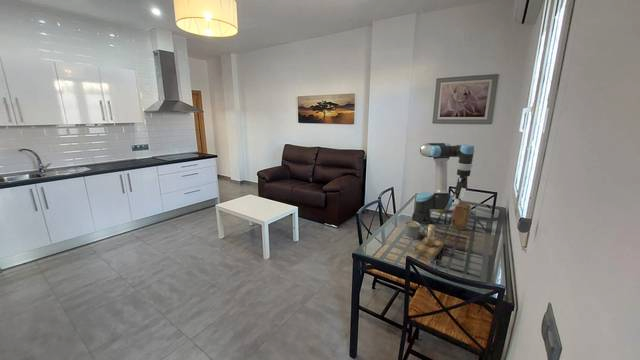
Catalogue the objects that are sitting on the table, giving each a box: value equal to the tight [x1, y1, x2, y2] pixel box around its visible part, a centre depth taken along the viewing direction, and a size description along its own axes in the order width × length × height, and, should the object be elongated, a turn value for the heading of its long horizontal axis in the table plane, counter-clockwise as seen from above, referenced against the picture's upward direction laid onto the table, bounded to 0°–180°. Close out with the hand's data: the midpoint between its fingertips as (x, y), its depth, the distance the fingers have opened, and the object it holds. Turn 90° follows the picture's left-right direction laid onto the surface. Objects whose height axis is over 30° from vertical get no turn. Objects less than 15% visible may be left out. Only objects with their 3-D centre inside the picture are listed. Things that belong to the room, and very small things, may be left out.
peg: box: [426, 224, 436, 248], centre depth 167 cm, size 4×4×18 cm
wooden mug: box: [435, 194, 455, 214], centre depth 224 cm, size 9×14×18 cm, turn 48°
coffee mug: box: [403, 220, 425, 240], centre depth 186 cm, size 13×10×10 cm
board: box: [414, 236, 444, 261], centre depth 169 cm, size 12×18×4 cm, turn 138°
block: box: [450, 202, 471, 231], centre depth 196 cm, size 11×8×20 cm
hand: (459, 200), depth 170 cm, fingers open, 13 cm apart
